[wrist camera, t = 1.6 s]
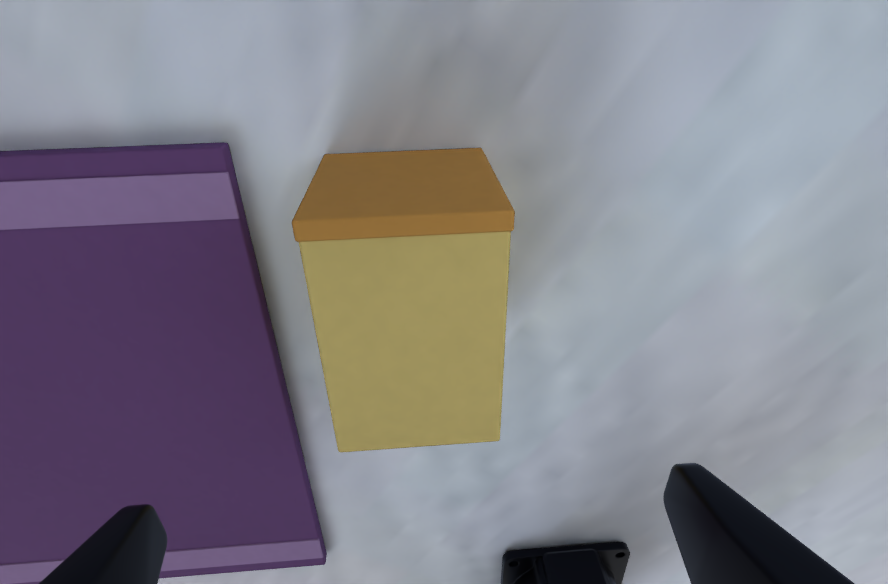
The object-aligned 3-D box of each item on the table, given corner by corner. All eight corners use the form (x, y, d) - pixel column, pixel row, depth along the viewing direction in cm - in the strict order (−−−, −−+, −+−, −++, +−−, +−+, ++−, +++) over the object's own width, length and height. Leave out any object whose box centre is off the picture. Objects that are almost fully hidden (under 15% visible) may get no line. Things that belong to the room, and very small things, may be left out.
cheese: (478, 337, 18) (502, 443, 14) (351, 345, 18) (335, 454, 14) (482, 146, 15) (515, 210, 10) (323, 153, 15) (290, 221, 10)
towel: (327, 553, 24) (325, 566, 24) (-13, 581, 24) (-23, 595, 23) (228, 141, 14) (221, 147, 14) (-374, 165, 13) (-409, 172, 13)
